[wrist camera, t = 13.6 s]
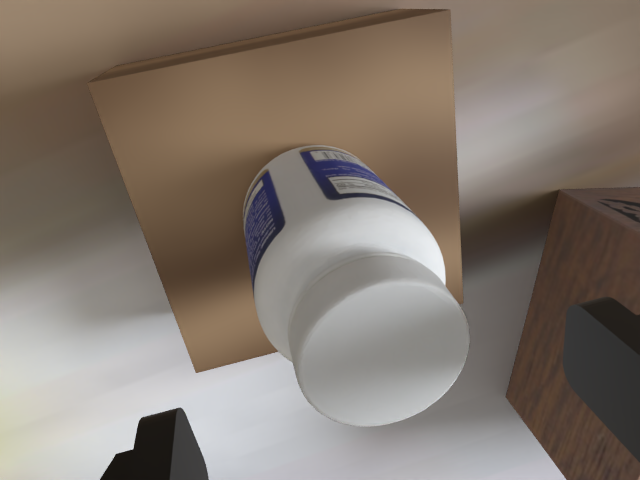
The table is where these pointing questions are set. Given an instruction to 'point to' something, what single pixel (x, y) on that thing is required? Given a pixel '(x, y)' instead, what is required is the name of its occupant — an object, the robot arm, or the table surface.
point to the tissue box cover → (549, 327)
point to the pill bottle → (351, 288)
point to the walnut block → (277, 149)
